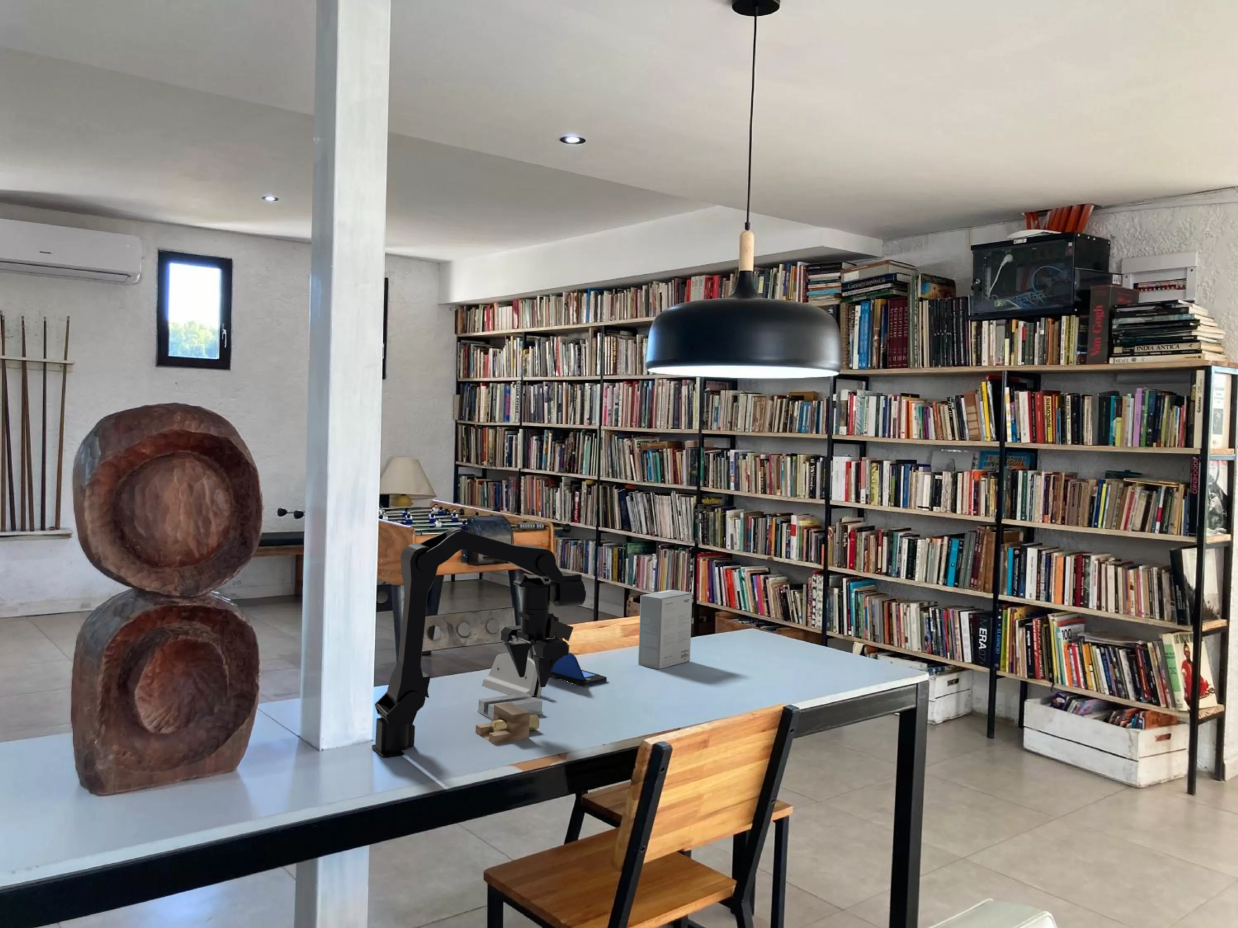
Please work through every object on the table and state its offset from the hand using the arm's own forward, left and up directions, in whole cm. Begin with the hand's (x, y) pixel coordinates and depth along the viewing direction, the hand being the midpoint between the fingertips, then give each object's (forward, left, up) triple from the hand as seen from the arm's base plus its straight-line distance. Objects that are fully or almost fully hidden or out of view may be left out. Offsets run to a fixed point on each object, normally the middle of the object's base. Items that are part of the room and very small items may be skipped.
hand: (532, 681), depth 192 cm
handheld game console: (+32, +35, -12) cm, 49 cm away
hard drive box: (+66, +39, -11) cm, 78 cm away
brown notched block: (-7, 0, -11) cm, 13 cm away
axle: (-3, 0, -10) cm, 11 cm away
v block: (+2, +13, -11) cm, 17 cm away
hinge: (+14, +31, -11) cm, 36 cm away
